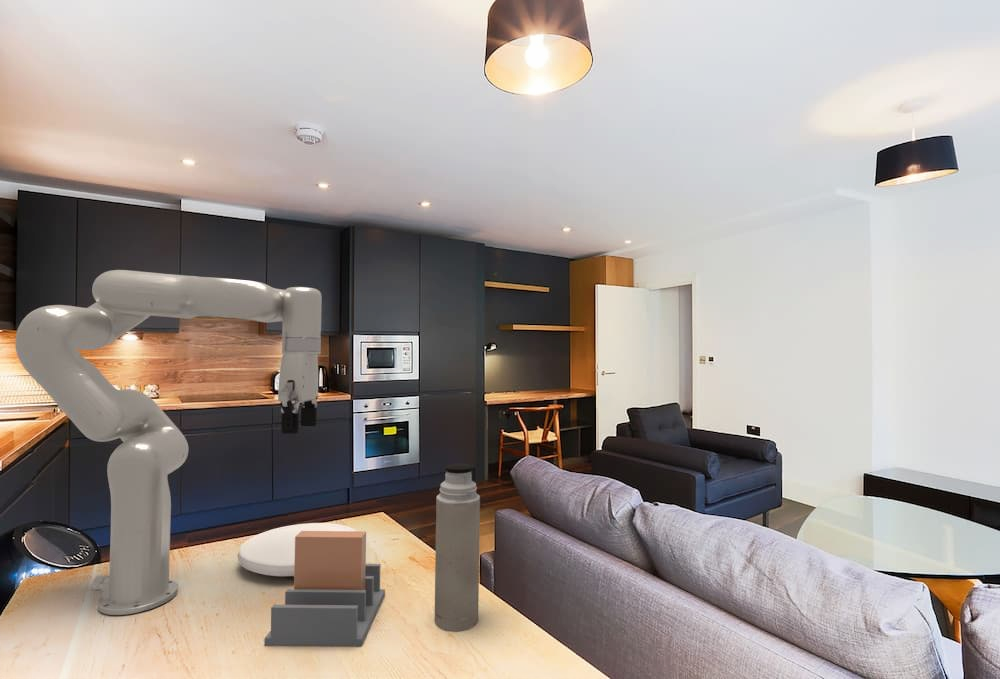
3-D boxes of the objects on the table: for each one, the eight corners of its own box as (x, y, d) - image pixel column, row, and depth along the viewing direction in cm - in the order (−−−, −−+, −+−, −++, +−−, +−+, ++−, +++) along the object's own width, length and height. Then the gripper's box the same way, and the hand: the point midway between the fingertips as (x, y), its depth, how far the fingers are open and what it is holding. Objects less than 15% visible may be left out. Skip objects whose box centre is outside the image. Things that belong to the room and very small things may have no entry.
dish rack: (264, 645, 84) (265, 607, 84) (304, 594, 101) (305, 563, 101) (361, 646, 84) (362, 608, 84) (384, 595, 101) (385, 564, 101)
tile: (293, 615, 91) (295, 536, 91) (299, 607, 94) (301, 530, 94) (360, 616, 91) (361, 537, 91) (364, 607, 94) (366, 531, 94)
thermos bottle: (429, 612, 95) (432, 462, 95) (470, 605, 98) (472, 459, 98) (440, 635, 87) (443, 471, 88) (484, 626, 90) (486, 468, 91)
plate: (289, 515, 135) (382, 524, 130) (287, 540, 134) (380, 550, 129) (210, 542, 108) (324, 555, 102) (206, 574, 107) (321, 588, 102)
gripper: (299, 347, 114) (298, 423, 114) (264, 346, 97) (262, 436, 96) (333, 347, 114) (331, 423, 114) (303, 346, 97) (301, 436, 96)
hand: (299, 429), depth 105 cm, fingers open, 9 cm apart
